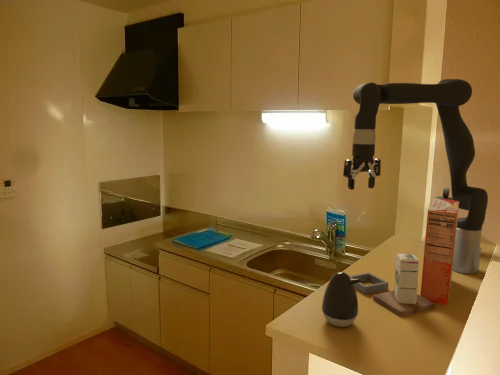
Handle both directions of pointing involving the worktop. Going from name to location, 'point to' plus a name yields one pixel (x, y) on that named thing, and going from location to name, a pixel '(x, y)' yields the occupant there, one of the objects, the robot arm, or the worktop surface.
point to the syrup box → (406, 278)
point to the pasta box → (439, 250)
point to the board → (403, 304)
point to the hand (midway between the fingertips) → (361, 188)
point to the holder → (376, 287)
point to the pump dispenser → (340, 300)
